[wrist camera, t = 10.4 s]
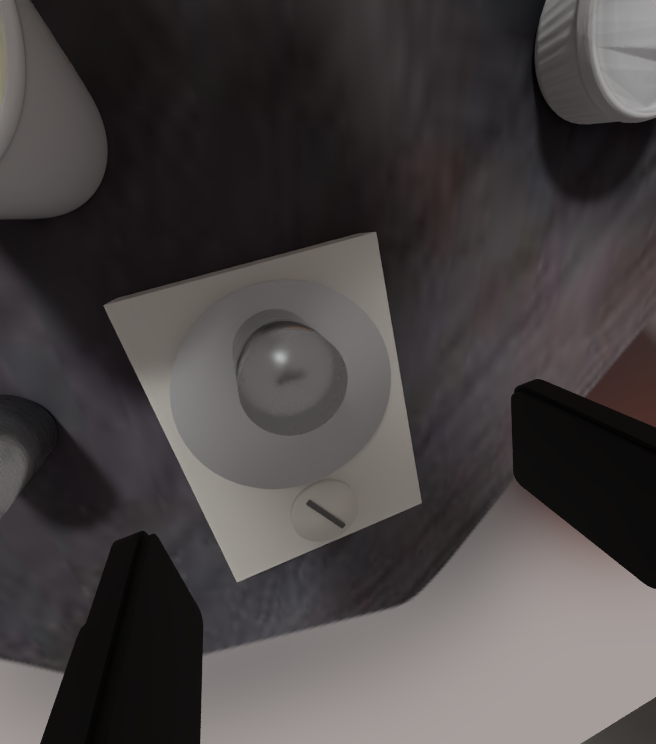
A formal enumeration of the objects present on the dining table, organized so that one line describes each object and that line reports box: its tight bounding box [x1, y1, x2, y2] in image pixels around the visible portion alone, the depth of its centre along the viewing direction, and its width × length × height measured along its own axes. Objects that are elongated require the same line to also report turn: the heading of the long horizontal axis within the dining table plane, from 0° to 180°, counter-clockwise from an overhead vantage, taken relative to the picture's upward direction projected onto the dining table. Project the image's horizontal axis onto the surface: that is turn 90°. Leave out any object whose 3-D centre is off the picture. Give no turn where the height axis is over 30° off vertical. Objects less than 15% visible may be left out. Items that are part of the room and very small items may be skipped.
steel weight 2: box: [232, 309, 348, 436], centre depth 19 cm, size 5×5×6 cm
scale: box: [103, 232, 422, 582], centre depth 26 cm, size 22×16×4 cm
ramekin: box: [535, 0, 656, 124], centre depth 23 cm, size 11×11×5 cm
